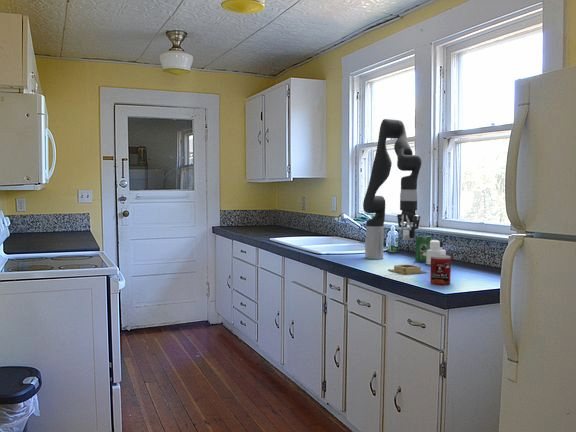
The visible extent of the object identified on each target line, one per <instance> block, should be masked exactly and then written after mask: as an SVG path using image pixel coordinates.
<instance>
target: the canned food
mask: <svg viewBox="0 0 576 432" xmlns="http://www.w3.org/2000/svg"><path fill="white" fill-rule="evenodd" d="M451 263H452V257H451V255H432V256H431V265H430V279H429V280H430V284H431V285H434V286H448V285H450V284H451V271H452V267H451V266H452V264H451Z"/></svg>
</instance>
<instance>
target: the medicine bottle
mask: <svg viewBox="0 0 576 432" xmlns="http://www.w3.org/2000/svg"><path fill="white" fill-rule="evenodd" d="M443 243H444V242H443V240H440V239H431V241H430V250H427V251H426V262H425V264H426V265H429V266H431V256H432V255H446V254H447V250H446V249H443V248H444V247H443V245H444V244H443Z"/></svg>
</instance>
